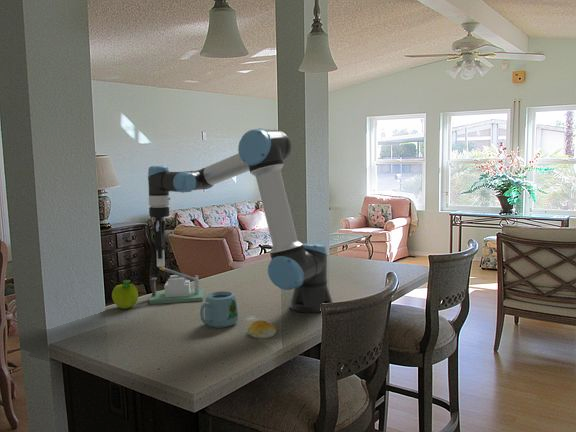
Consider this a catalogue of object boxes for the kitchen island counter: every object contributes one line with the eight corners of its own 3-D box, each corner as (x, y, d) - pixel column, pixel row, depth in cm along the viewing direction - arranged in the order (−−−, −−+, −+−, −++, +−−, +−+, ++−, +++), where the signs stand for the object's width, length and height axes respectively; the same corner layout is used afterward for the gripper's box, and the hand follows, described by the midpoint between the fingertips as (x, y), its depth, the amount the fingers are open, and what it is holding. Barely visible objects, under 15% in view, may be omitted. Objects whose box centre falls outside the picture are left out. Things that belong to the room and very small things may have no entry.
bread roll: (266, 327, 166) (265, 315, 166) (280, 335, 159) (279, 323, 158) (242, 332, 162) (242, 320, 162) (256, 341, 155) (255, 328, 154)
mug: (214, 335, 160) (212, 304, 159) (189, 329, 166) (187, 299, 165) (245, 322, 172) (244, 292, 171) (220, 316, 178) (219, 288, 177)
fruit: (140, 303, 198) (138, 277, 197) (137, 310, 189) (135, 283, 188) (115, 305, 197) (113, 279, 195) (111, 312, 187) (109, 285, 186)
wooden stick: (197, 281, 205) (198, 278, 205) (197, 282, 203) (198, 279, 203) (159, 268, 203) (160, 265, 203) (159, 269, 201) (160, 266, 201)
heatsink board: (204, 292, 212) (203, 272, 211) (202, 301, 199) (201, 279, 198) (155, 294, 210) (153, 274, 209) (149, 303, 197) (148, 282, 196)
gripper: (166, 208, 193) (168, 269, 196) (171, 204, 206) (172, 262, 209) (146, 208, 193) (148, 270, 195) (151, 204, 205) (153, 262, 208)
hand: (160, 266), depth 202 cm, fingers closed
